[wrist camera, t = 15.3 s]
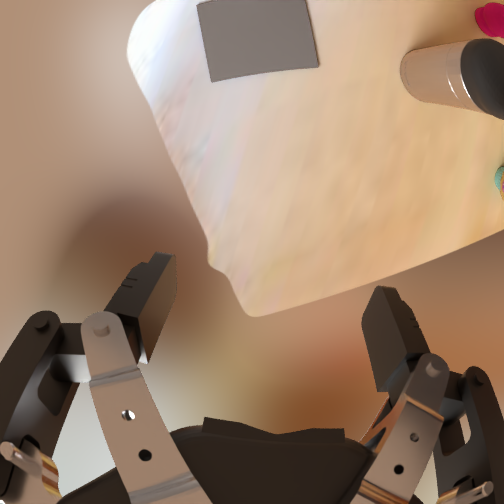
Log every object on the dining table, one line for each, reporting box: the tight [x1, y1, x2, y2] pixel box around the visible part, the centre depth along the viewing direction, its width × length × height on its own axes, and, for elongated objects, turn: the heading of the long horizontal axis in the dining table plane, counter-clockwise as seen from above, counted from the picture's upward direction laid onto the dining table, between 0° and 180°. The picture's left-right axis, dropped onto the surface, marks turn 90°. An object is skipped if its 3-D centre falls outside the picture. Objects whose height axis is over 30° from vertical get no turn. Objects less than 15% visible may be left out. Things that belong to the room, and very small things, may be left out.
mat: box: [196, 0, 318, 82], centre depth 33 cm, size 16×14×1 cm
